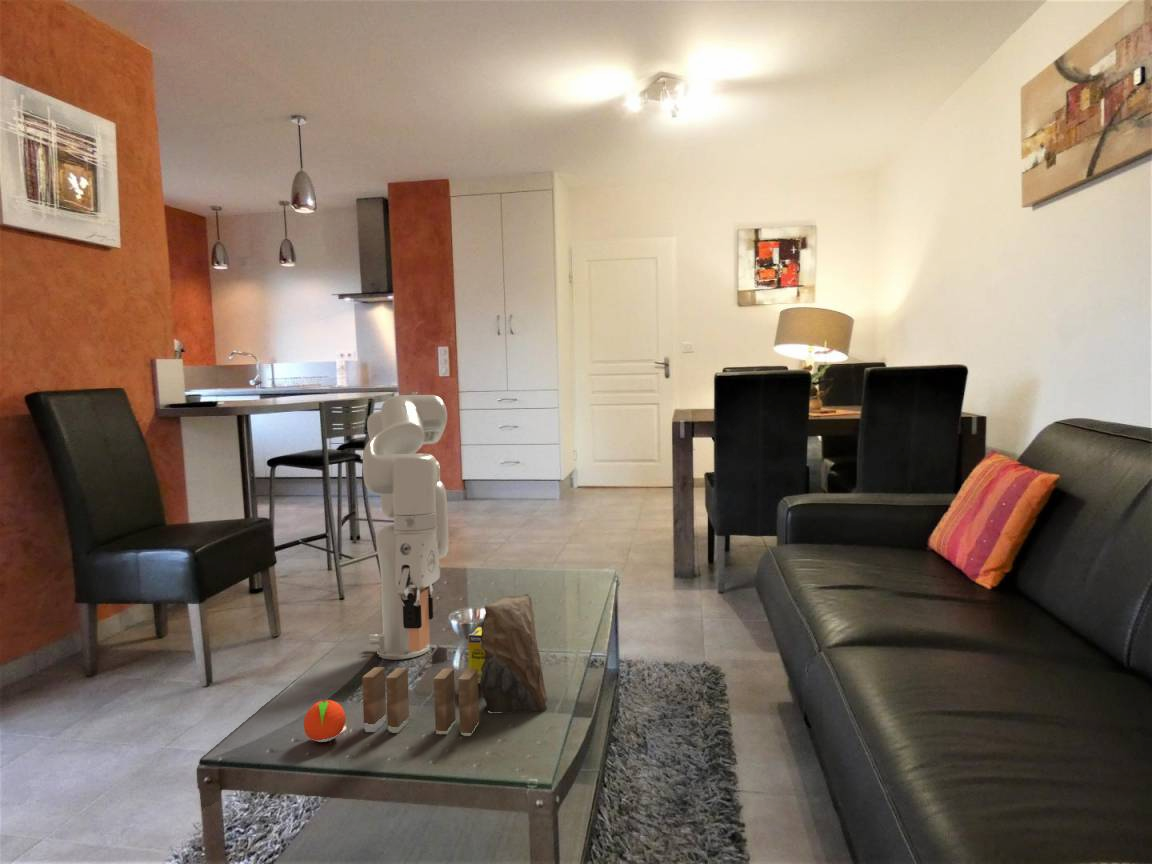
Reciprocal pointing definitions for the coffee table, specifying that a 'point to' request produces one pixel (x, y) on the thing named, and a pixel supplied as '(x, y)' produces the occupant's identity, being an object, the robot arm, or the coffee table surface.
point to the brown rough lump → (511, 657)
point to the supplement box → (476, 652)
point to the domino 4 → (444, 699)
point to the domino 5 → (468, 700)
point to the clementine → (324, 720)
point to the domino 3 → (421, 635)
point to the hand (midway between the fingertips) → (418, 622)
